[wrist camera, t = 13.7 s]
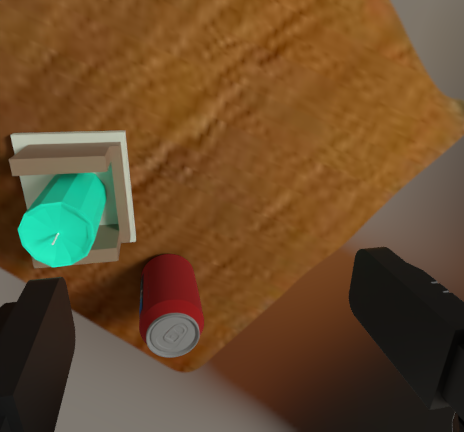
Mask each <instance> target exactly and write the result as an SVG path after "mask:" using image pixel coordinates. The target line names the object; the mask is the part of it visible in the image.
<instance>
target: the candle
mask: <svg viewBox="0 0 464 432" xmlns="http://www.w3.org/2000/svg"><path fill="white" fill-rule="evenodd" d="M106 200H107V197H106V190H105V185H104V184H103V183H102V181H101V180H100V179H99V178H98V176H97V175H96V174H94V173H70V174H57V175H55V176H54V177H53V178H52V179H51V181H50V182H49V183H48V184H47V186H46V187H45V188H44V190H43V191H42V192H41V193H40V195H39V196H38V197H37V199H36V200H35V201H34V202H33V204H32V205H31V206H30V207H29V209H28V210H27V211H26V213H25V214H24V216H23V218H22V221H21V223H20V225H19V228H18V232H19V236H20V239H21V243H22V246H23V247H24V248H25V249H26V250H27V251H28V252H29V253H30V255H31V256H32V257H33V258H34V259H35V260H37V261H39V262H42V263H44V264H46V265H49V266H51V267H60V266H67V265H73V264H74V263H76V262H78V261H79V260H81V259H83V258H84V257H86V256H87V255H88V253H89V251H90V249H91V247H92V245H93V243H94V241H95V237H96V234H97V230H98V227H99V224H100V220H101V217H102V213H103V210H104V206H105V203H106Z"/></svg>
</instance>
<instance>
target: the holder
mask: <svg viewBox="0 0 464 432" xmlns="http://www.w3.org/2000/svg"><path fill="white" fill-rule="evenodd" d="M10 136H11V140H12V144H13V149H14V153H15V155H14V156H13V157H11V158H10V159H9V163H10V168H11V172H12V176H20V180H21V184H22V188H23V193H24V197H25V202H26V206H27V210H28V209H29V207H30V206H31V205H32V204H33V202H34V201H35V200H36V199H37V197H38V196H39V195H40V193H41V192H42V191H43V190H44V188H45V187H46V186H47V184H48V183H49V182H50V181H51V179H52V178H53V177H54V176H55V175H57V174H70V173H94V174H96V175H97V176H98V178H99V179H100V180H101V181H102V183H103V184H104V185H105V190H106V197H107V200H106V203H105V206H104V210H103V213H102V217H101V220H100V224H99V227H98V230H97V234H96V237H95V241H94V243H93V245H92V247H91V249H90V251H89V253H88V255H87V256H86V257H84V258H83V259H81V260H79V261H78V262H76V263H74V264H73V265H77V264H88V263H99V262H111V261H118V259H119V252H120V245H121V243H127V242H136V232H135V222H134V212H133V203H132V193H131V183H130V173H129V163H128V154H127V144H126V134H125V130H124V131H82V132H40V133H13V134H11V135H10ZM31 257H32V256H31ZM32 261H33V265H34V268H44V267H51V266H49V265H46V264H44V263H42V262H39V261H37V260H35V259H34V258H33V257H32Z"/></svg>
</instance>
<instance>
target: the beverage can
mask: <svg viewBox="0 0 464 432" xmlns="http://www.w3.org/2000/svg"><path fill="white" fill-rule="evenodd" d="M203 327H204V317H203V312H202V307H201V302H200V297H199V293H198V288H197V283H196V279H195V275H194V271H193V268H192V266H191V264H190V263H189V262H188V261H187V260H186V259H185V258H183V257H181V256H179V255H175V254H164V255H160V256H157V257H155V258H153V259H152V260H150V261H149V262H148V263H147V264H146V265H145V267H144V269H143V271H142V274H141V289H140V322H139V330H140V334H141V337H142V339H143V340H144V341H145V343H146V344H147V345H148V347H149V348H150V350H151V351H152V352H154V353H155V354H157V355H159V356H162V357H177V356H181V355H184V354H186V353H187V352H189V351H190V350H192V349H193V348H194V347H195V345H196V344H197V342H198V340H199V336H200V335H201V333H202V331H203Z"/></svg>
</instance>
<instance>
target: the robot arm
mask: <svg viewBox="0 0 464 432" xmlns="http://www.w3.org/2000/svg"><path fill="white" fill-rule="evenodd" d="M349 303H350V307H351V310H352V312H353V314H354V316H355V317H356V318H357V319H358V321H359V322H360V323H361V325H362V326H363V327H364V328H365V330H366V331H367V332H368V333H369V335H370V336H371V337H372V338H373V340H374V341H375V342H376V343H377V345H378V346H379V347H380V348H381V349H382V351H383V352H384V353H385V355H386V356H387V357H388V358H389V360H390V361H391V362H392V363H393V365H394V366H395V367H396V369H397V370H398V371H399V372H400V374H401V375H402V376H403V377H404V379H405V380H406V381H407V382H408V384H409V385H410V386H411V387H412V389H413V390H414V391H415V392H416V394H417V395H418V396H419V397H420V399H421V400H422V401H423V402H424V404H425V405H426V406H427V407H428V409H429V410H433V409H438V408H443V407H448V406H451V407H452V409H453V410H454V411H455V414H454V417H453V420H452V431H453V432H464V302H463V301H462V300H460V299H459V298H458V297H457V296H455V295H454V294H453V293H449V290H448V289H446V288H445V287H444V286H443V285H441V284H440V283H439V284H438V283H437V281H436V280H435V279H434V278H432V277H431V276H430V275H428V274H427V273H426V272H424V271H423V270H421V269H419V268H417V267H415V266H413V265H411V264H409V263H406V262H405V261H404V260H403V259H401V258H400V257H399V256H397V255H396V254H395V253H394V252H392V251H391V250H390V249H389V248H387V247H377V248H368V249H360V250H359V251H357V253H356V256H355V261H354V267H353V273H352V279H351V284H350V290H349ZM74 349H75V327H74V321H73V316H72V311H71V306H70V301H69V296H68V291H67V286H66V282H65V280H64V278H63V277H57V278H46V279H36V280H29V281H28V282H27V284H26V286H25V288H24V290H23V291H22V293H21V295H20V297H19V299H18V301H17V302H12V303H5V304H4V305H2V306H1V307H0V432H54V430H55V426H56V422H57V418H58V414H59V410H60V406H61V402H62V398H63V394H64V390H65V386H66V382H67V378H68V374H69V370H70V366H71V362H72V358H73V354H74Z"/></svg>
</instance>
